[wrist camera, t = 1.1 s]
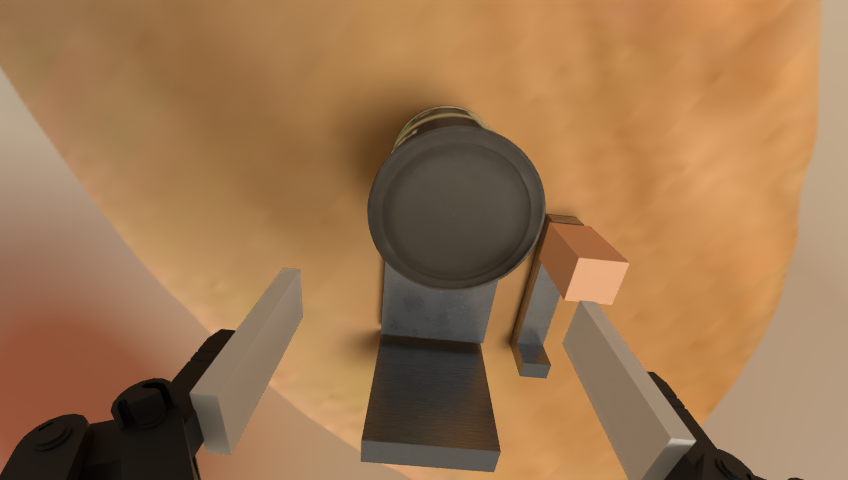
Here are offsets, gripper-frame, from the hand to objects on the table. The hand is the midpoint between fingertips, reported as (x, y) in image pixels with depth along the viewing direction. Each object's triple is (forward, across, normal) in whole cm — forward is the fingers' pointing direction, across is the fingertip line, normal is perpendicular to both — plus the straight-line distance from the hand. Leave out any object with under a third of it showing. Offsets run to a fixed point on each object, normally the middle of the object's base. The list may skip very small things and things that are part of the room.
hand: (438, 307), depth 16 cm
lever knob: (+17, +13, -3) cm, 22 cm away
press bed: (+19, +2, -14) cm, 23 cm away
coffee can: (+19, +1, +2) cm, 20 cm away
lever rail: (+19, +14, -10) cm, 25 cm away
